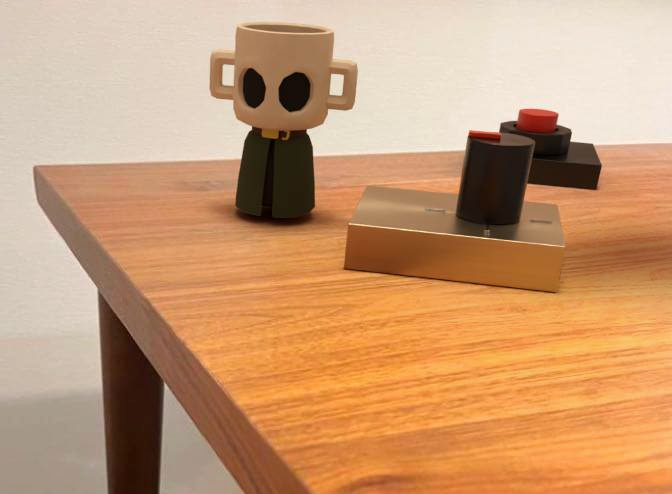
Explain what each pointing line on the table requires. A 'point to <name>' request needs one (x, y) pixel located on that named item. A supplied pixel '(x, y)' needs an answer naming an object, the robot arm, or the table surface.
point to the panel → (453, 241)
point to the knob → (494, 177)
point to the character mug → (280, 109)
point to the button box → (559, 158)
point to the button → (537, 120)
